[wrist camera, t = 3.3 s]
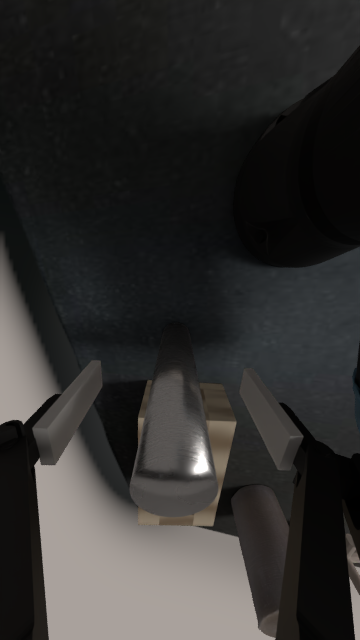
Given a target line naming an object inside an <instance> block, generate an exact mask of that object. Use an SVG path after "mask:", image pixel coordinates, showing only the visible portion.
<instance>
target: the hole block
mask: <svg viewBox="0 0 360 640" xmlns="http://www.w3.org/2000/svg"><path fill="white" fill-rule="evenodd" d="M151 385H152V380H148V381H147V385H146V389H145V393H144V396H143V400H142V404H141V408H140V412H139V416H138V445H139V441H140V436H141V431H142V427H143V422H144V417H145V413H146V408H147V403H148V399H149V394H150V389H151ZM199 385H200V391H201V396H202V401H203V407H204V412H205V417H206V422H207V428H208V433H209V438H210V444H211V449H212V454H213V460H214V465H215V470H216V475H217V481H218V494H217V496H216V498H215V500H214V501H213V502H212V503H211V504H210V505H209V506H208V507H207V508H205V509H204V510H202V511H200V512H198V513H195V514H192V515H189V516H184V517H162V516H158V515H154V514H151V513H149V512H146V511H145V510H143V509H141V508H140V507H139V506H138V524H139V525H181V526H213V523H214V519H215V514H216V510H217V506H218V501H219V497H220V492H221V488H222V484H223V479H224V475H225V470H226V466H227V462H228V457H229V453H230V448H231V444H232V440H233V435H234V431H235V426H236V419H235V416H234V414H233V411H232V409H231V406H230V403H229V401H228V398H227V395H226V393H225V390H224V388H223V385H222V384H213V383H199Z"/></svg>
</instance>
